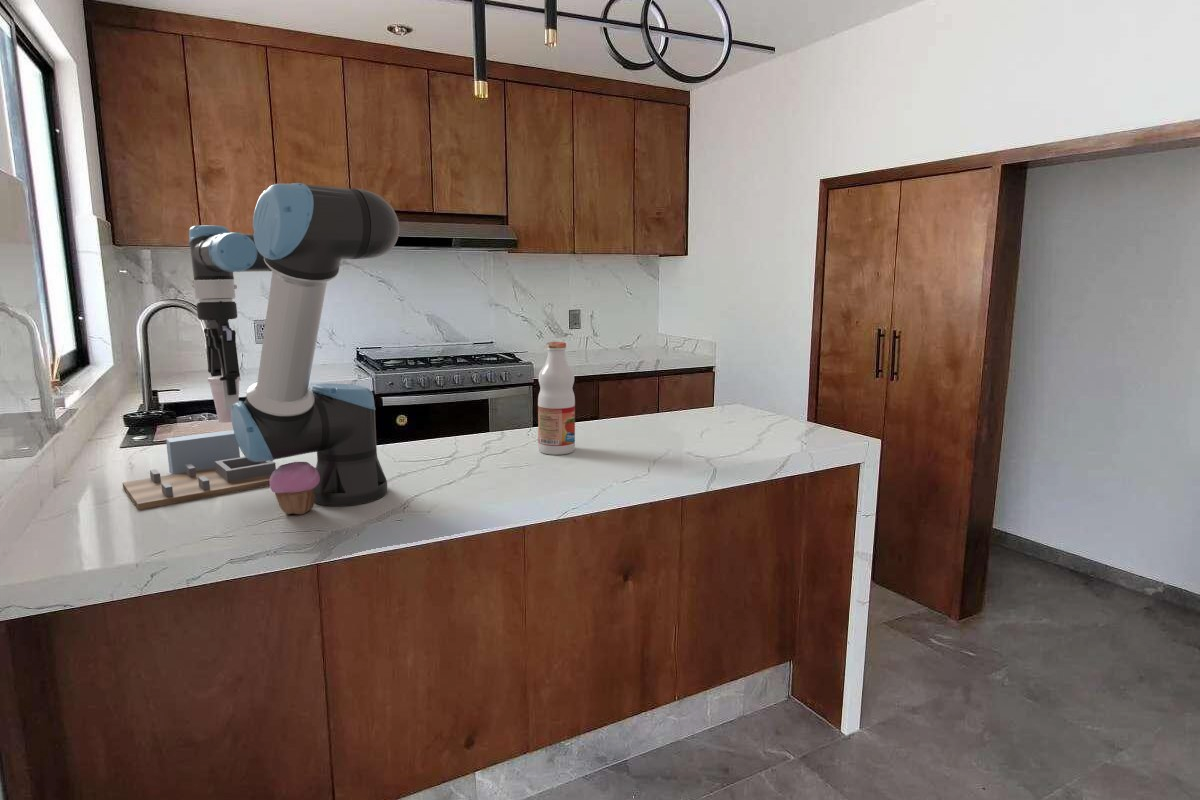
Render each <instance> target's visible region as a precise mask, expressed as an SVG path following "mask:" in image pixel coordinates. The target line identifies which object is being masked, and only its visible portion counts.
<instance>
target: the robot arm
mask: <svg viewBox="0 0 1200 800" xmlns="http://www.w3.org/2000/svg"><path fill="white" fill-rule="evenodd" d="M252 219H253V220H252V230H254V231H253V234H252V233H241V232H237V231H235V232H234V231H232V232H230V231H229V229H228V227H225V226H223V225H193V226H191V227H190V228H189V230H188V233H189V235H188V236H189V241H188V244H189V248H190V259H191V265H192V267H191V268H192V273H193V274H192V276H193V287H194V288H193V289H194V297H195V299H196V300H198V302H197V303H196V314H197V315H196V316H197V318H198V320H200V321H208V322H207V323H208V326H207V327H206V328H205V327H204V329H203V332H204V338H205V345H206V346H205V349H206V359H207V360H206V361H207V372H208V373H209V374H210V377H213V376H221V375H222V374H223V377H221V378H220V381H222V388H223V398H224V407H225V411H229V410H231V420H232V422H231V425H232V430H234V434H235V437H236V440H237V443H238V445H239V450H240V452H241V453H242V455H243V457H246V458H247V459H248V460H250V461H253V462H261V461H273V462H274V461H275V460H279V459H285V458H290V457H296V456H301V455H305V454H312V453H316V457H317V458H316V461H317V462H316V466H315V468H316V470H317V471H318V473H319V476H320V482H319V484H318V485H317V486H316V487H315V489H314V504H319V505H322V506H332V507H344V506H345V507H347V506H354V505H355V506H356V505H361V504H368V503H370V502H374V501H377V500H379V499H382V498H383V497H385V496H386V495H387V493H388V491H389V490H388V481H387V478H386V475H385V473H384V470H383V468H382V466H381V462H380V460H379V458H378V449H377V429H376V428H377V427H376V409H377V408H376V406H375V399H374V393H373V391H372V390H371V389H370V388H368V387H366V386H361V385H357V384H348V383H347V384H346V383H336V382H335V383H333V382H332V383H331V382H329V383H326V382H325V383H315V384H313V385H312V388H311V389H310V388H309V385H310V379H311V374H312V373H311V372H312V368H313V363H314V356H315V351H316V344H317V340H318V334H319V330H320V329H319V328H320V323H321V317H322V311H323V306H324V301H325V296H326V295H325V294H326V288H327V285H328V283H327V282H329V281H331V280H333V279H335V278H336V277H337V276H338V274H339V272H340V271H339V270H340V265H341V261H342V260H365V259H374V258H378V257H380V256H381V257H382V256H383V255H385V254H387V253H389V252H390V251H391V250H392V249H393V247H395V245H396V244H397V241H398V239H399V235H400V222H399V218H398V216H397V214H396V212H395V210H394V208H393V206H392V205H391V204H389V202H388V201H387V200H385V199H384V198H383V197H382V196H380V195H379V194H377V193H375V192H372V191H370V190H367V189H366V190H365V189H362V188H354V187H353V188H349V187H348V188H347V187H337V186H328V185H327V186H326V185H325V186H324V185H315V184H305V183H301V182H293V183H274V184H272V185H271V184H270V186H269V187H267V188H265V189H264V190H263V192H262V193H261V194H260V196H259V197H258V200H257V201H256V204H255V208H254V211H253V217H252ZM234 272H235V273H240V272H242V273H243V272H271V279H270V280H271V281H270V285H269V286H270V287H269V294H268V295H269V296H268V301H267V310H266V318H265V323H264V331H263V337H262V346H261V352H260V353H261V354H260V361H259V367H258V368H259V369H258V376H257V381H255V382H253V383H251V385H249V387H248V389H247V391H246V395H245V400H244V401H243V400H239V399H240V398H239V399H238V389H237V377H239V376H240V377H241V375H240V374H241V373H240V367H239V358H238V351H237V349H238V348H237V341H236V331H235V329H233V328H232V327H230V322H229V320H236V319H237V318H238V308H237V307H238V306H237V303H236V301H234V299H235V298H236V291H235V290H236V289H238V286H237V284H235V281H234V280H235V278H234V277H235V276H234ZM221 369H222V371H221Z"/></svg>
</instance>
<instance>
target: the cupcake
mask: <svg viewBox="0 0 1200 800" xmlns="http://www.w3.org/2000/svg"><path fill="white" fill-rule="evenodd" d="M319 482H320V476H319V473H318V471H317V470H316V466H315V467H314V466H313V465H312V464H311V463H310V462H308V461H294V462H288V463H285V464H281V465H279V466H278V467H277V468H276V470H274V471H273V473H272V475H271V477H270V486H269V488H270V490H271V492H272V493H274V494H275V498H276V500H277V502H278V503H277V504H278V506H279V508H280V510H282V512H283V513H284V514H285V515H291V514H295V515H304V514H306V513H308V512H309V511H311V510H312V509H313V508H314V506H315V502H314V489H315V487H316V486H317V485H318V484H319Z"/></svg>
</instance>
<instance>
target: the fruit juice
mask: <svg viewBox="0 0 1200 800" xmlns="http://www.w3.org/2000/svg"><path fill="white" fill-rule="evenodd" d="M546 350H547V357H546V359H545V363H544V365H543V366H542V368H541V369H540V371H539V373H538V383H539V387H540V389H539V393H538V397H537V413H538V414H537V418H538V419H537V420H538V421H537V424H538V427H537V429H538V430H537V431H538V432H537V435H538V443H537V445H538V451H539V452H540V453H542V454H545V455H551V456H560V455H561V456H562V455H567V454H571V453H573V452H574V451H575V448H576V399H575V398H576V397H575V393H574V390H573V386H574V383H575V374H574V372H573V370H572V368H571V367H570V365H569V364H568V362H567V357H566V351H565V350H567V343H566V342H564V341H548V342H547V343H546Z"/></svg>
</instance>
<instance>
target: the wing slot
mask: <svg viewBox="0 0 1200 800" xmlns="http://www.w3.org/2000/svg"><path fill="white" fill-rule="evenodd" d="M185 471H186V474H187V475H188V476H189V477H196V470H195V467H194V466H193V465H192V464H186V465H185ZM149 474H150V478H151V480H152V481H153V482H154V483H160V482H161V478H160V476H161V472H159V471H158V469H157V468H154V469H150V470H149ZM198 482H199V487H200V488H201V489H202V490H203V491H205V490H210V483H209V480H208V479H207V478H206V477H205V476H201V477H198ZM161 486H162V493H163V494H164V495H165V496H166V497H171V496H173V489H172V486H171V485H170V484H169V483H168V482H165V483H161Z"/></svg>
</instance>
